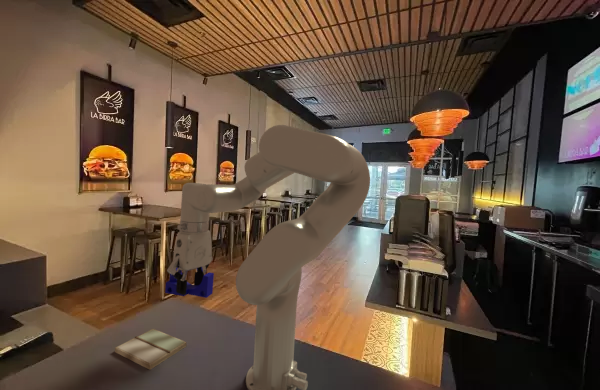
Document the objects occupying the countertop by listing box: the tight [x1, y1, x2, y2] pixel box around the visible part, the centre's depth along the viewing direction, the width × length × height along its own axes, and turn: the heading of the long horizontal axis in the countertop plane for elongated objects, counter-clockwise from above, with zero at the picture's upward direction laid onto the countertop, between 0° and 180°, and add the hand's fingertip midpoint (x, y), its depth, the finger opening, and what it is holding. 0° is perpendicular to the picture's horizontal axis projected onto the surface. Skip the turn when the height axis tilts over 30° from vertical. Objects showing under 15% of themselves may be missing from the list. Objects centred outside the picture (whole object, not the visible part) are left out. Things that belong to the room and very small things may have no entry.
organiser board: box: [114, 328, 187, 371], centre depth 73 cm, size 14×11×2 cm
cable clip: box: [165, 268, 215, 299], centre depth 75 cm, size 12×4×6 cm, turn 78°
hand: (190, 289), depth 75 cm, fingers closed on cable clip, 5 cm apart
